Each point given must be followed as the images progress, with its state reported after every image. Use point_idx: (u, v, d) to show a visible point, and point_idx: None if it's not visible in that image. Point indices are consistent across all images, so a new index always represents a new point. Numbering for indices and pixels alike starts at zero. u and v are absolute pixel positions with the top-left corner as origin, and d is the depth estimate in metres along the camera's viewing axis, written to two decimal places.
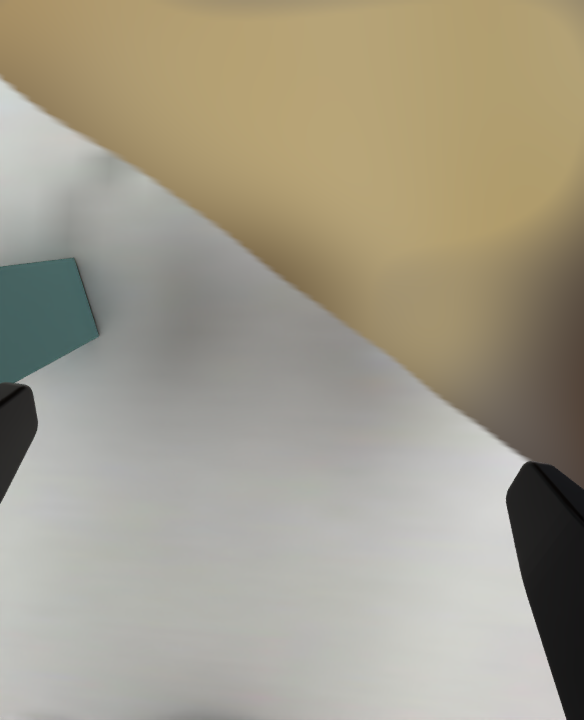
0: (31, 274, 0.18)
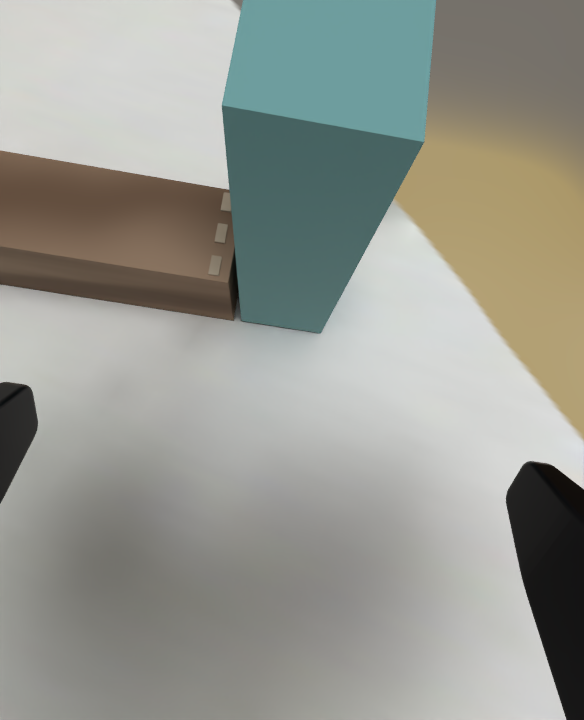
0: None
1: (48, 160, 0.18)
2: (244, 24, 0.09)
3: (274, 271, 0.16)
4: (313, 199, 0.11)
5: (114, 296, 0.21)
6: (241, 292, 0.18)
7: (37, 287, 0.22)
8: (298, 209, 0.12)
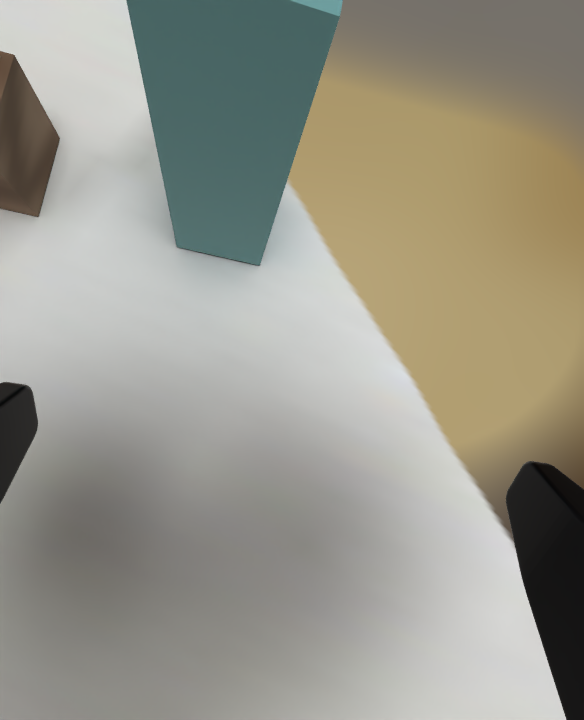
0: None
1: None
2: None
3: (202, 184, 0.15)
4: (232, 88, 0.10)
5: None
6: (172, 209, 0.17)
7: None
8: (218, 100, 0.11)
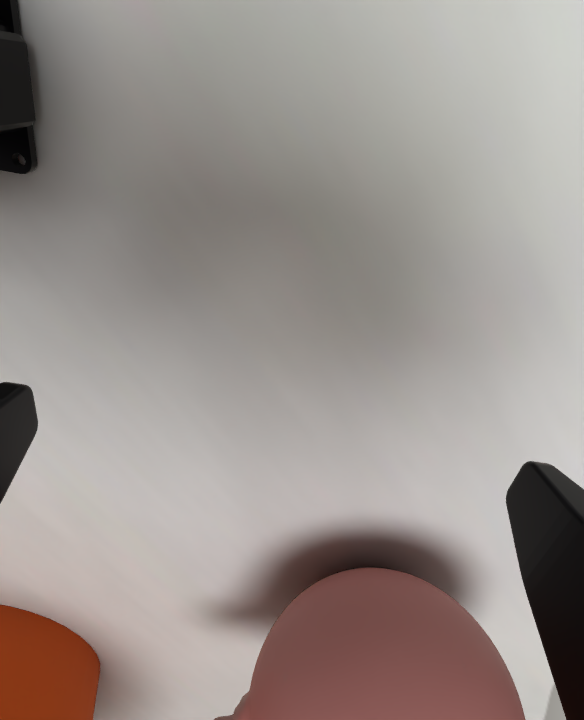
0: None
1: None
2: None
3: None
4: None
5: None
6: None
7: None
8: None
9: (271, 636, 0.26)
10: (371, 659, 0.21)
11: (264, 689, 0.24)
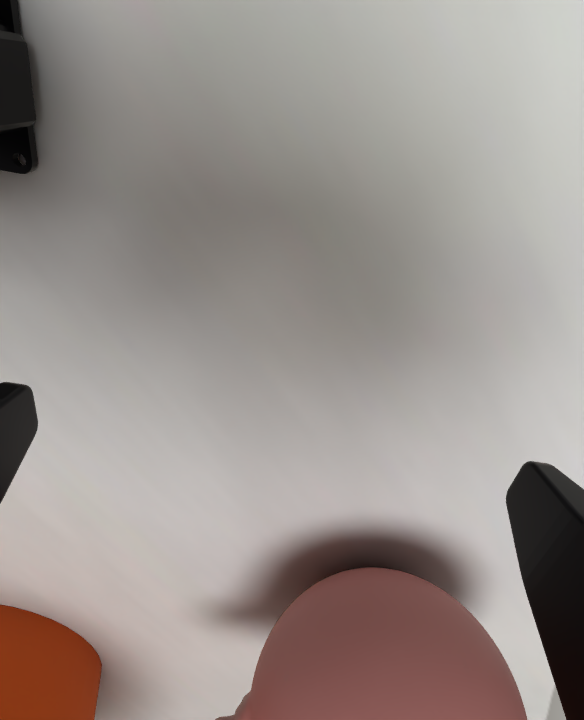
0: None
1: None
2: None
3: None
4: None
5: None
6: None
7: None
8: None
9: (272, 636, 0.26)
10: (373, 659, 0.21)
11: (265, 689, 0.23)
